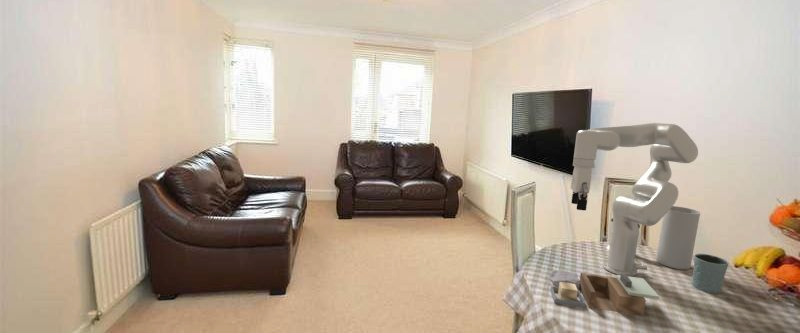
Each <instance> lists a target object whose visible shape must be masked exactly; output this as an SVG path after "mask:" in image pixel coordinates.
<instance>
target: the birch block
mask: <svg viewBox="0 0 800 333" xmlns="http://www.w3.org/2000/svg"><path fill="white" fill-rule="evenodd" d="M577 293H578V290H577V288H576V285H575V284H572V283H565V282H559V290H558V292H557V295H558V298H559V299H565V300H572V301H577V299H578V298H577V297H578V295H577Z"/></svg>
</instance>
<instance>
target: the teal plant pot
mask: <svg viewBox="0 0 800 333" xmlns="http://www.w3.org/2000/svg"><path fill="white" fill-rule="evenodd" d="M729 264H730V263H729V261H728V260H727V259H725V258H722V257H719V256H717V255H712V254H707V253H696V254H694V257H693V271H692V272H693V273H692V277H691V278H692V279H691V285H692V287H693V288H695V289H697V290H698V291H703V292H705V293H708V292H709V294H719V292H720V293H721V290H722V287H723V282H724V279H725V276H726V273H727V269H728V267H729Z"/></svg>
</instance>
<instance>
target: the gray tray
mask: <svg viewBox="0 0 800 333" xmlns="http://www.w3.org/2000/svg"><path fill="white" fill-rule="evenodd" d="M549 288H550V289H549V290H550V291H549V292H550V293H551V297H552V300H553V303H554V304H560V305H566V306H571V307H572V306H573V307H577V308H584V309H585V308H586V301H585V299H584V297H583V295H582V293H581V290H580V289H579V290H578V293H577V297H578V300H579V301H572V300H565V299H559V297H558V298H557V297H556V294H555V292H556V293H558V290H559V287H558V286H555V285H550V287H549Z"/></svg>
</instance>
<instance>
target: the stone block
mask: <svg viewBox="0 0 800 333" xmlns="http://www.w3.org/2000/svg"><path fill="white" fill-rule="evenodd" d="M549 279H550V282H551V284H552V286H554V287H559V282H565V283H572V284H575V285H576V288H577V290H579V291H580V278H579V276H578V274H577V273H576V272H571V271H568V270H561V269H559V270H553V271H551V274H550V278H549Z"/></svg>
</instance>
